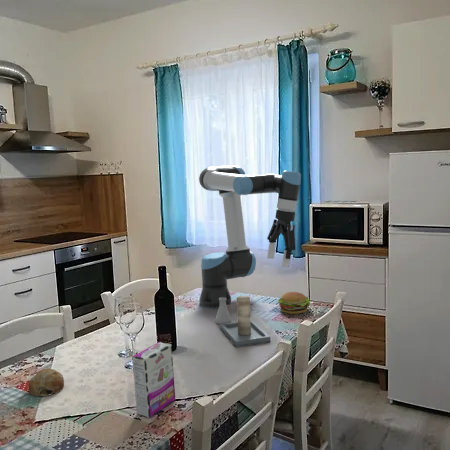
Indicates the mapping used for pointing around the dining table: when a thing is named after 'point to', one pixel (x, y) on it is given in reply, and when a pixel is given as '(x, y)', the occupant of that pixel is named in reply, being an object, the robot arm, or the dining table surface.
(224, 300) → the flask
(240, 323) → the birch peg
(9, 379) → the dining table surface
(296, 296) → the food
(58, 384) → the bread roll
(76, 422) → the dining table surface
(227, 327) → the tray
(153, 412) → the candy bar box
